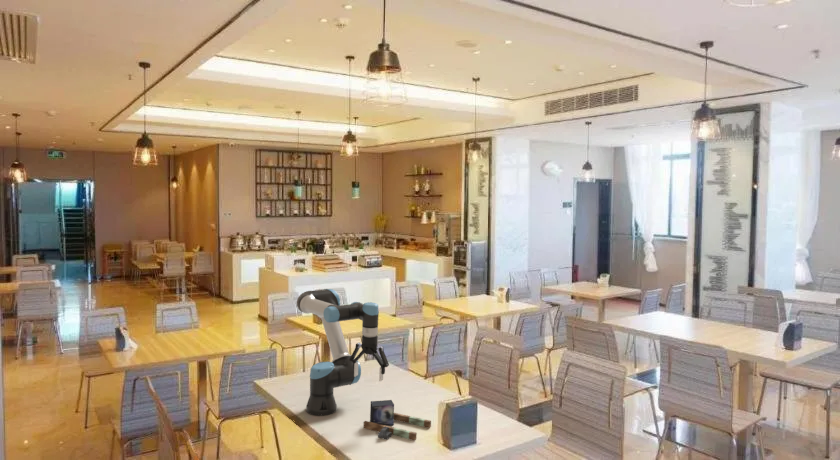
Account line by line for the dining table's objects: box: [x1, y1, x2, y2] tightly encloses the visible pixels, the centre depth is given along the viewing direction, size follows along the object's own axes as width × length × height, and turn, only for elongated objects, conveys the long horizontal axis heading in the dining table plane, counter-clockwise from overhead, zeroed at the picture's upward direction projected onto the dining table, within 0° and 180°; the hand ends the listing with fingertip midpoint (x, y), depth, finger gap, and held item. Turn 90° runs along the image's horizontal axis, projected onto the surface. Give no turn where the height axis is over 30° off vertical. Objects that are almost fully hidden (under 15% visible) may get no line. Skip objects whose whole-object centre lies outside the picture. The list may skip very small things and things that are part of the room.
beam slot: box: [362, 412, 432, 441], centre depth 273 cm, size 27×17×3 cm, turn 64°
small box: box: [369, 399, 395, 427], centre depth 277 cm, size 11×6×10 cm, turn 105°
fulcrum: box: [377, 426, 393, 440], centre depth 262 cm, size 5×4×4 cm
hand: (368, 378), depth 280 cm, fingers open, 13 cm apart
